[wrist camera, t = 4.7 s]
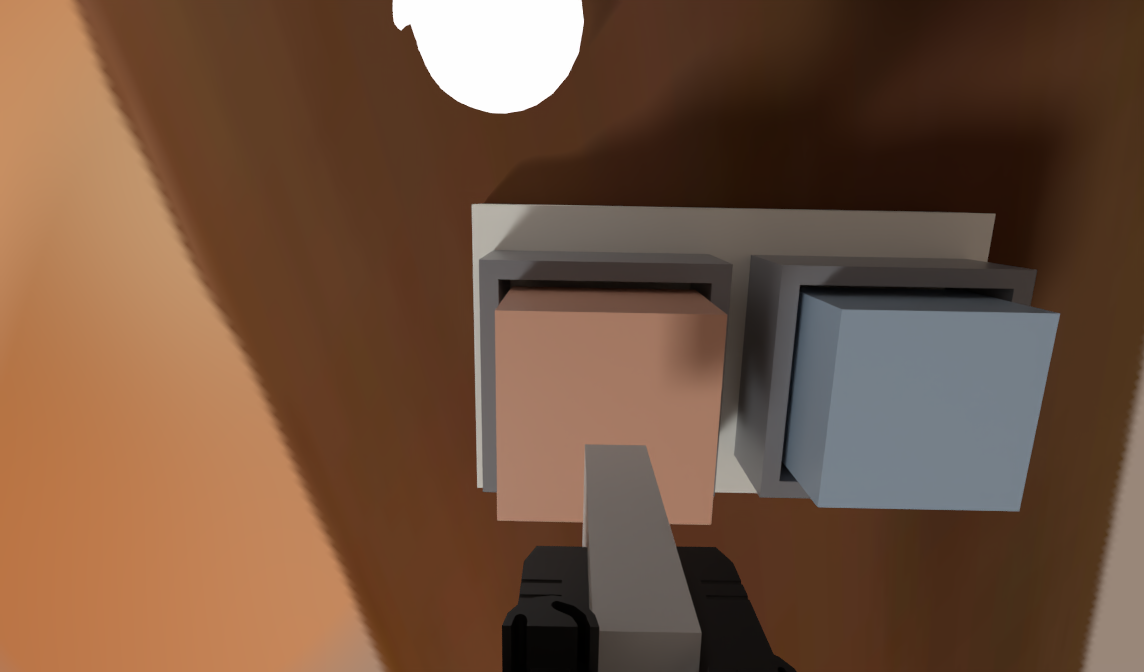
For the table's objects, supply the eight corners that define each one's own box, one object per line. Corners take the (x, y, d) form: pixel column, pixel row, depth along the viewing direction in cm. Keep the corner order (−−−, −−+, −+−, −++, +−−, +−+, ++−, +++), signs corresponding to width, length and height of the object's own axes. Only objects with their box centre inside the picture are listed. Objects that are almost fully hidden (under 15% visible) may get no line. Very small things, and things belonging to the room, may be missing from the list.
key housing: (482, 203, 28) (452, 205, 21) (951, 212, 28) (1073, 216, 21) (486, 460, 31) (461, 534, 24) (911, 468, 31) (1006, 545, 24)
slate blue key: (787, 286, 24) (842, 309, 19) (961, 290, 24) (1060, 313, 19) (771, 448, 26) (817, 507, 21) (935, 451, 26) (1019, 511, 21)
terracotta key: (512, 286, 23) (494, 310, 18) (695, 289, 23) (727, 315, 18) (513, 455, 24) (497, 520, 20) (683, 459, 24) (710, 524, 20)
